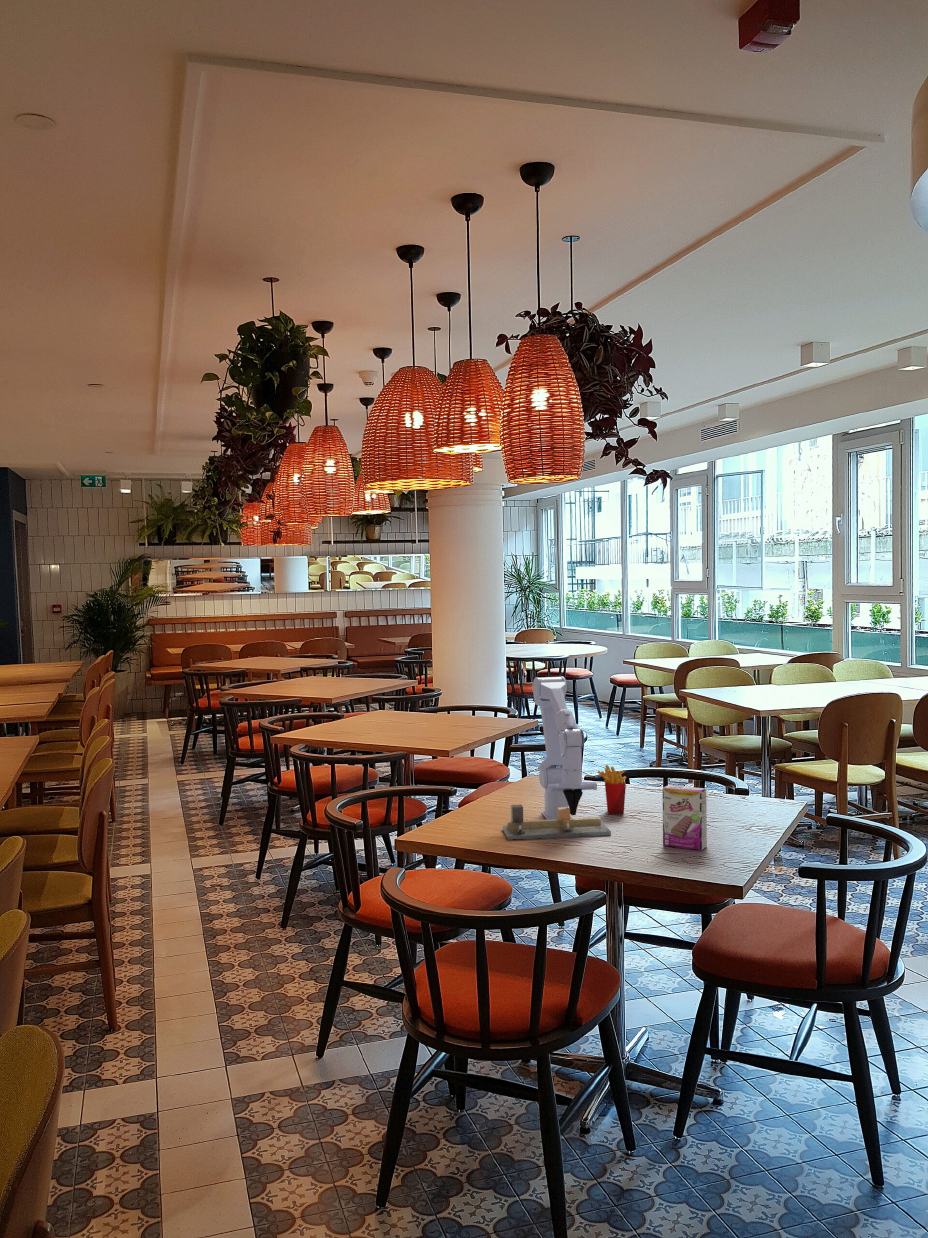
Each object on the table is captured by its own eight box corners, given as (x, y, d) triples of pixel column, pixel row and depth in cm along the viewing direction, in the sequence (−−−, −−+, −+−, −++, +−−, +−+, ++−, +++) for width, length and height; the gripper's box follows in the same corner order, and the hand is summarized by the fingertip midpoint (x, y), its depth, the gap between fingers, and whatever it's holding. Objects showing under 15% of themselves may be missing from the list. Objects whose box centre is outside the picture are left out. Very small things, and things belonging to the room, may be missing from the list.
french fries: (625, 810, 305) (624, 764, 305) (627, 816, 297) (626, 769, 297) (597, 810, 306) (597, 764, 306) (598, 816, 298) (598, 769, 298)
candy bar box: (662, 846, 263) (661, 787, 262) (668, 842, 267) (667, 784, 266) (702, 851, 257) (701, 791, 256) (707, 847, 261) (706, 787, 261)
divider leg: (557, 823, 284) (557, 807, 284) (568, 823, 285) (567, 807, 285) (562, 830, 277) (562, 813, 276) (573, 829, 277) (573, 813, 277)
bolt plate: (502, 829, 284) (502, 804, 284) (601, 825, 287) (600, 800, 287) (508, 840, 272) (507, 813, 272) (610, 835, 275) (610, 809, 275)
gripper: (550, 772, 278) (551, 818, 279) (599, 770, 279) (600, 816, 280) (546, 768, 285) (547, 813, 286) (593, 766, 286) (594, 811, 287)
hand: (572, 814), depth 283 cm, fingers closed
